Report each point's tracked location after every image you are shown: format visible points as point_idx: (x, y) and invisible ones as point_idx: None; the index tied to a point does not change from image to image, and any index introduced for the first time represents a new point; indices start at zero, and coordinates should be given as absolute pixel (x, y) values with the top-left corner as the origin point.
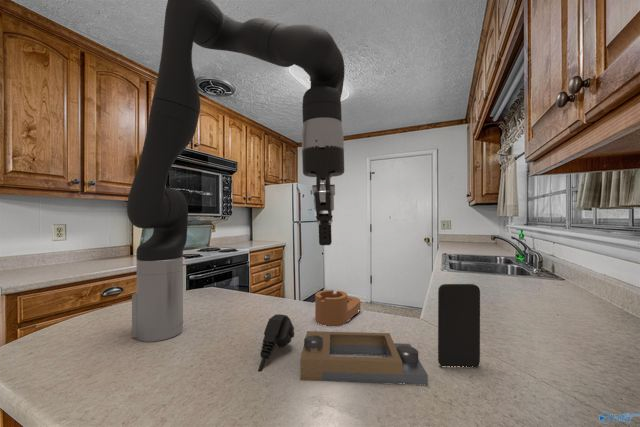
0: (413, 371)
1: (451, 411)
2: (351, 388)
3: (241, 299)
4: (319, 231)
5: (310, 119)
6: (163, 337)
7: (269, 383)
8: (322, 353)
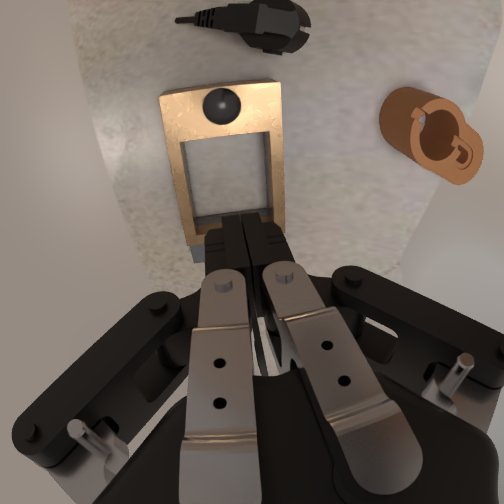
0: (198, 249)
1: (157, 268)
2: (169, 165)
3: None
4: (225, 249)
5: None
6: None
7: (156, 46)
8: (186, 128)
